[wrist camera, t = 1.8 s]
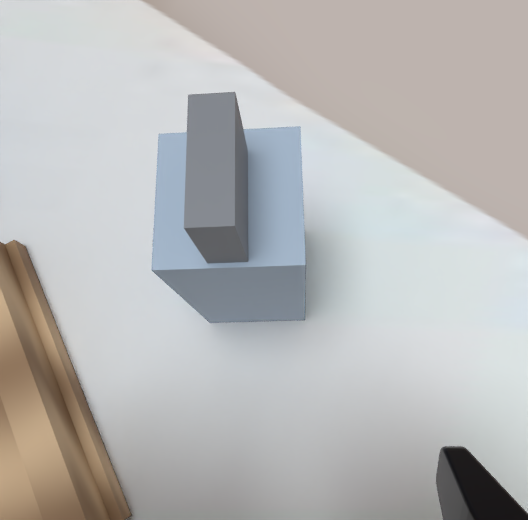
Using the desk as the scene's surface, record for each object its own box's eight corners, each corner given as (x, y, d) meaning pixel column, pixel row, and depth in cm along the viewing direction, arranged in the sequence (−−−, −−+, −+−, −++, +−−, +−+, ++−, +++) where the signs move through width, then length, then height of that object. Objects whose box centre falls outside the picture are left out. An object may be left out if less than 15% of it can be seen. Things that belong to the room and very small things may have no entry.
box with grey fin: (304, 320, 23) (306, 229, 11) (209, 322, 24) (114, 237, 12) (301, 229, 25) (299, 62, 13) (211, 233, 25) (126, 73, 13)
